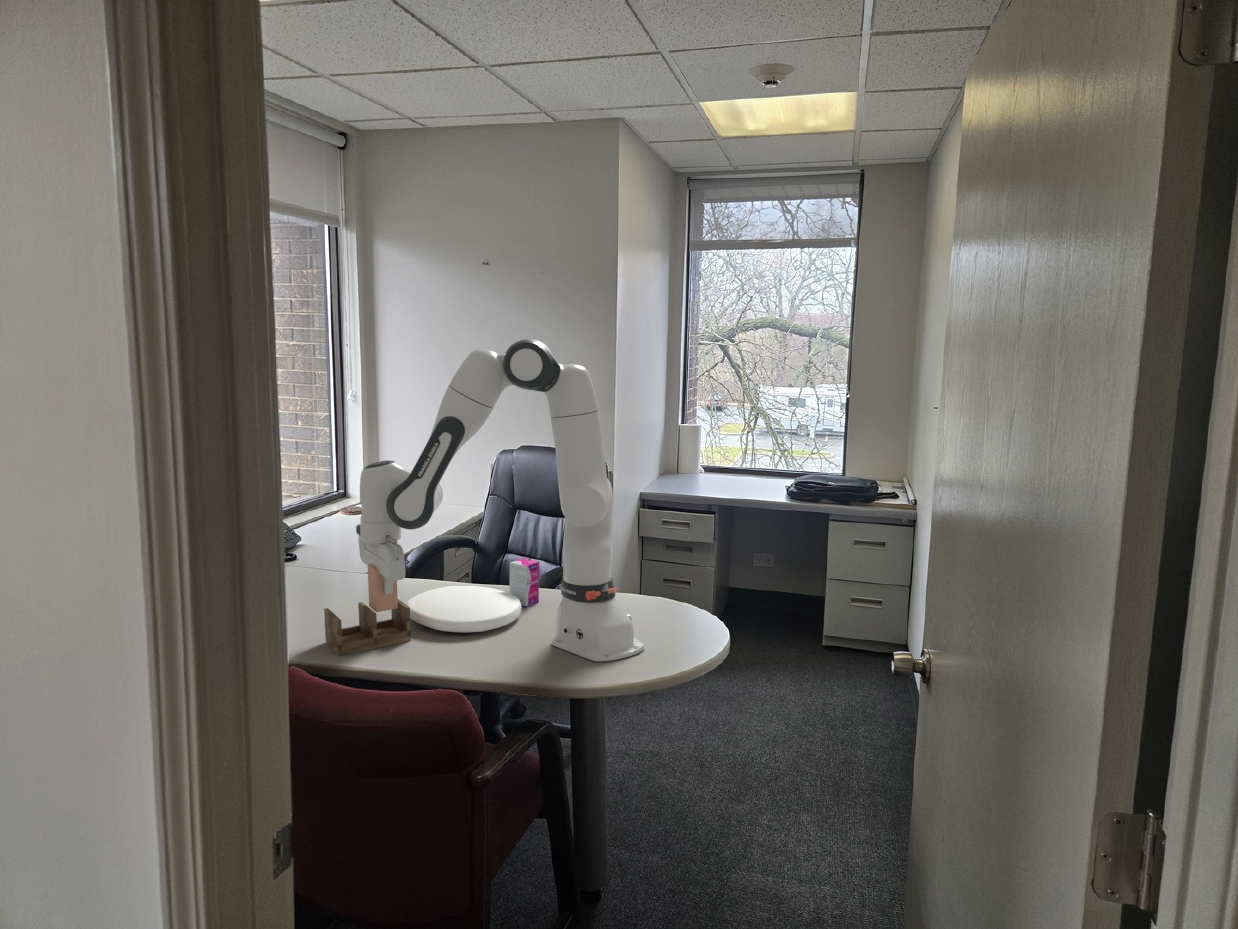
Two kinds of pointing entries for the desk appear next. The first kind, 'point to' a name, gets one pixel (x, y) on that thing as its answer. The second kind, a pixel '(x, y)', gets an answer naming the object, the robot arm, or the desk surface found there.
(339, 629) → the desk organiser
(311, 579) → the desk surface
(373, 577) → the terracotta block
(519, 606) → the plate
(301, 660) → the desk surface
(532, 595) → the supplement box
